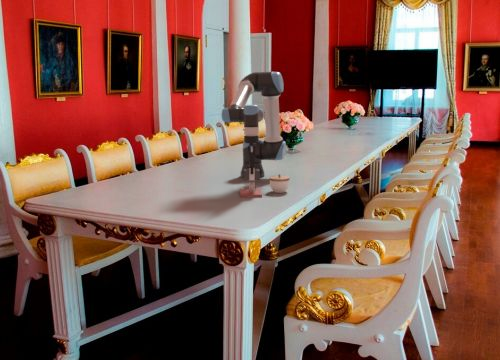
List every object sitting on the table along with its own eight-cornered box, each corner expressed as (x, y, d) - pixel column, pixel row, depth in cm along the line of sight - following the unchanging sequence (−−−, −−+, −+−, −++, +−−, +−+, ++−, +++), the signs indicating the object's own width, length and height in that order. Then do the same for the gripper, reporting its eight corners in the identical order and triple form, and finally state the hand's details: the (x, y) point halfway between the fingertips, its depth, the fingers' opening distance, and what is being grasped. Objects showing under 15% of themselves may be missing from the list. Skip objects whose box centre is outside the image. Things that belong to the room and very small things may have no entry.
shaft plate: (240, 191, 285) (240, 178, 284) (260, 190, 285) (260, 178, 284) (240, 197, 270) (240, 184, 268) (262, 196, 270) (262, 184, 269)
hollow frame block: (259, 178, 280) (259, 168, 279) (259, 180, 273) (259, 170, 272) (244, 178, 280) (244, 168, 279) (244, 180, 273) (244, 170, 272)
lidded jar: (273, 194, 276) (272, 176, 274) (266, 190, 286) (266, 173, 285) (292, 193, 279) (292, 175, 277) (285, 189, 289) (285, 172, 287)
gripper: (243, 133, 282) (244, 175, 286) (244, 137, 262) (244, 182, 266) (257, 133, 282) (258, 175, 286) (259, 136, 262) (259, 182, 266)
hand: (251, 178), depth 276 cm, fingers closed on hollow frame block, 7 cm apart
